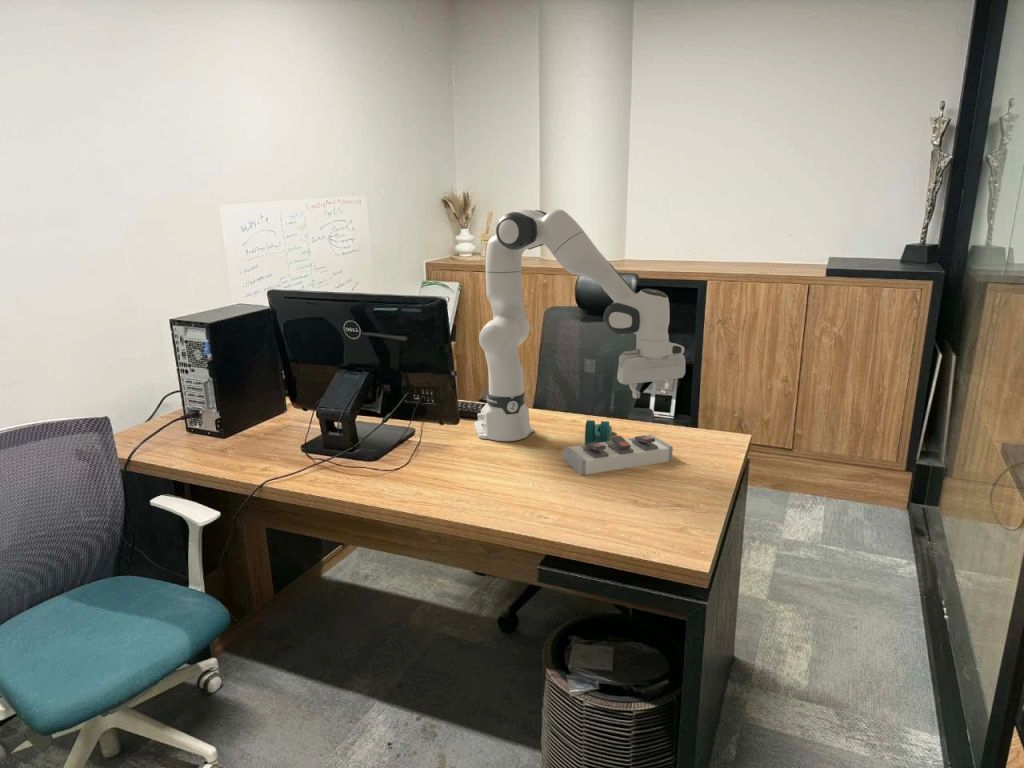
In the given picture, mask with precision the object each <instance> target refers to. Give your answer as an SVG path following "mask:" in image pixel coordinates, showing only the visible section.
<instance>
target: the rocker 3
mask: <svg viewBox="0 0 1024 768" xmlns="http://www.w3.org/2000/svg"><path fill="white" fill-rule="evenodd" d="M634 438H635V440H637V441H641V442H644V443H651V442H655V438H652V437H648V436H647V435H637V436H636V435H635V436H634Z"/></svg>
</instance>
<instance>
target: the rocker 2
mask: <svg viewBox="0 0 1024 768" xmlns="http://www.w3.org/2000/svg"><path fill="white" fill-rule="evenodd" d="M625 439H626V438H623V437H622V436H621V435H617V436H616V435H615V436H611V438H610V441H612V442H614V443H615V444H616V445H617V446H618V447H619V448H620V449H621V450H623V449H630V447H631V445H630V444H629V443H628V442H627V441H626V440H625Z"/></svg>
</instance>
